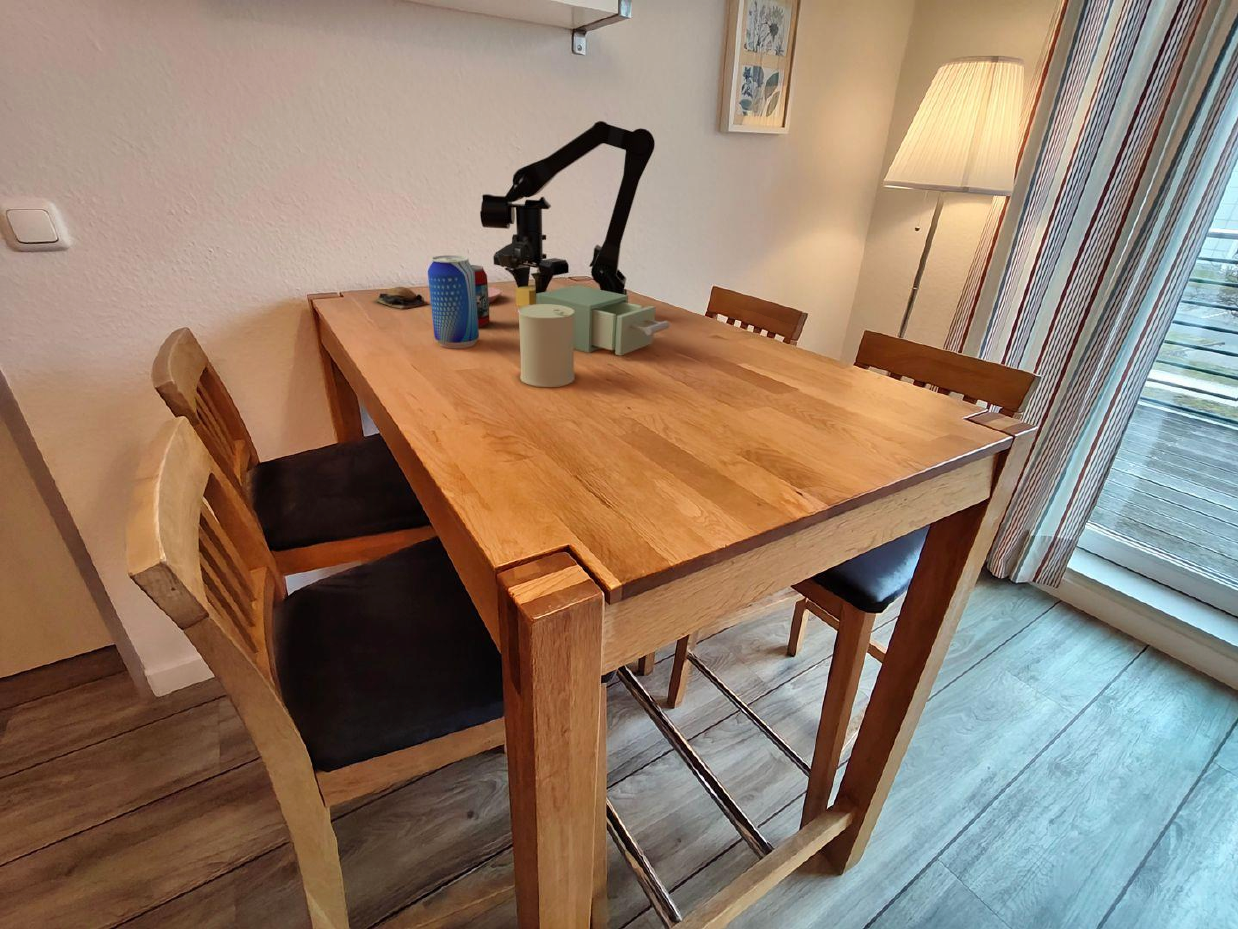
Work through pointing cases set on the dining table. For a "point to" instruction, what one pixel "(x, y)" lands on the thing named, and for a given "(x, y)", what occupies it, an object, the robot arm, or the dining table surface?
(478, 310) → the beverage can
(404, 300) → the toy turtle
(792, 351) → the dining table surface
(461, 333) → the beer can
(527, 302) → the block
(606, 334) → the drawer
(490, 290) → the plate
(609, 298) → the cabinet
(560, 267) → the robot arm
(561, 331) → the can
